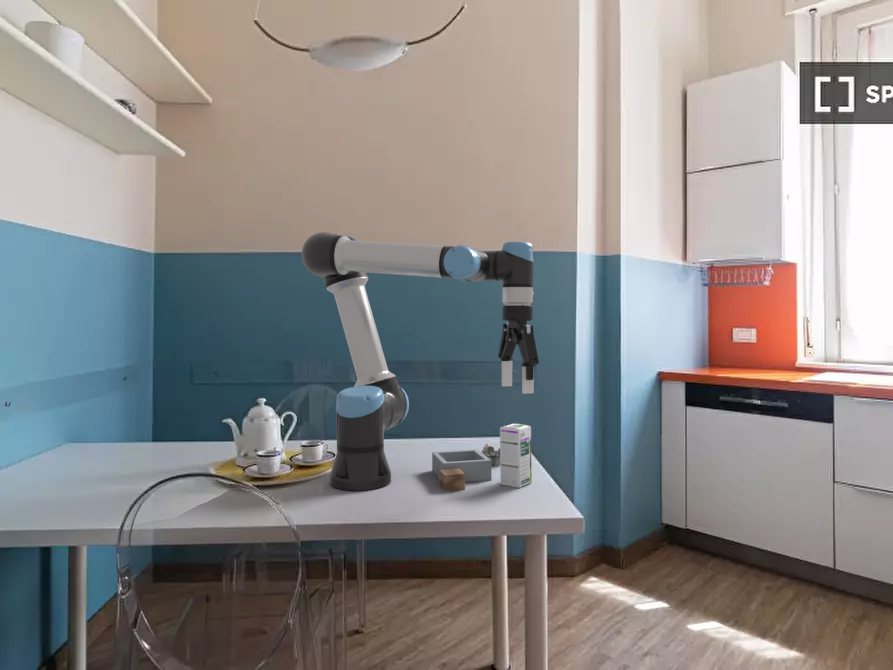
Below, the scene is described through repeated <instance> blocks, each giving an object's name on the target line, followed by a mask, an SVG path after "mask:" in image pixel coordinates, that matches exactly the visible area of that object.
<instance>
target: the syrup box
mask: <svg viewBox="0 0 893 670" xmlns="http://www.w3.org/2000/svg"><path fill="white" fill-rule="evenodd" d="M499 448H500V471H499V472H500V485H504V486H508V487H511V488H512V487H513V488H517V489H521V488H523V487H525V486H527V485H529V484H531V483H532V482H533V481H532V480H533V479H532V477H533V475H532V473H533V471H532V427H531V425H528V424H522V423H511V424H508V425H504V426H501V427H499Z"/></svg>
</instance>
